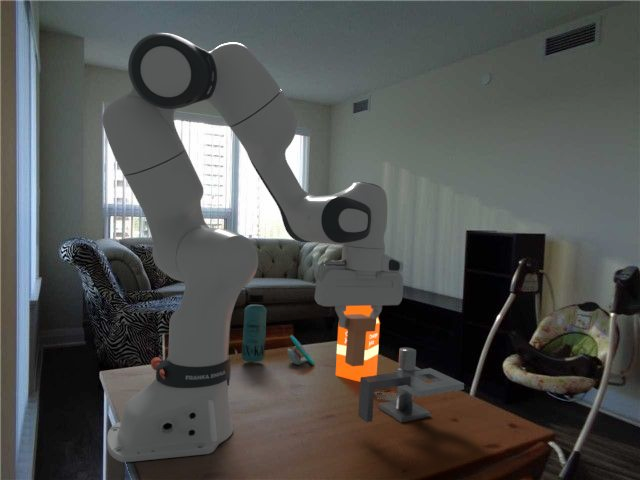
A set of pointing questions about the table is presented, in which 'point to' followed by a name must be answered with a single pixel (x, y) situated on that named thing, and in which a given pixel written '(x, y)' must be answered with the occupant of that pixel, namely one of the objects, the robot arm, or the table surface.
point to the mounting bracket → (386, 396)
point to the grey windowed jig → (404, 389)
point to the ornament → (298, 353)
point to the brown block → (357, 337)
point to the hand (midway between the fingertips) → (357, 326)
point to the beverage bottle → (254, 330)
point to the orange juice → (370, 349)
